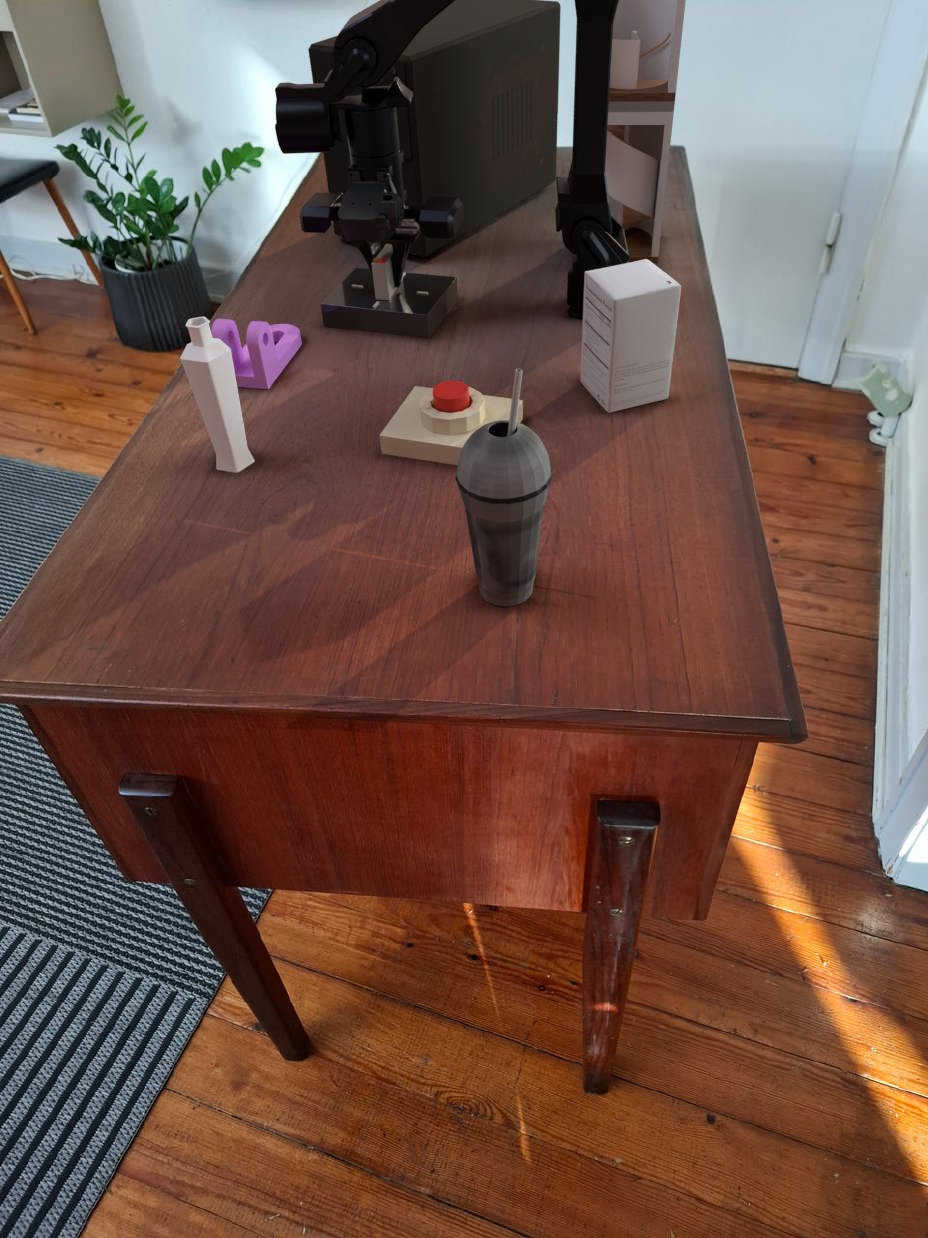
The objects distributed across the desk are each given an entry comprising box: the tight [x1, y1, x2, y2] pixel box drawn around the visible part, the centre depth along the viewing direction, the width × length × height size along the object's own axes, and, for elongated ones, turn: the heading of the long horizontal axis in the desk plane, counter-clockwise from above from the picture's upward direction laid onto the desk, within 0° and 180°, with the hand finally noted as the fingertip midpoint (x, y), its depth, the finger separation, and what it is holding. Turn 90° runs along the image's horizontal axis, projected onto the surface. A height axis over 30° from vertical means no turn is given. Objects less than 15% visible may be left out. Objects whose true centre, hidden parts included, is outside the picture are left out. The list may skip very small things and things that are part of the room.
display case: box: [605, 0, 687, 267], centre depth 111 cm, size 11×11×35 cm
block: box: [379, 385, 524, 466], centre depth 91 cm, size 12×10×4 cm
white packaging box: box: [579, 259, 682, 414], centre depth 93 cm, size 7×7×13 cm
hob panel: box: [320, 267, 459, 339], centre depth 112 cm, size 14×11×3 cm
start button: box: [432, 380, 469, 413], centre depth 89 cm, size 4×4×2 cm
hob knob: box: [372, 244, 403, 300], centre depth 110 cm, size 6×2×5 cm, turn 166°
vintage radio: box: [308, 0, 562, 258], centre depth 129 cm, size 38×20×25 cm, turn 144°
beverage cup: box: [455, 368, 553, 607], centre depth 68 cm, size 7×7×20 cm
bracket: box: [210, 318, 303, 390], centre depth 104 cm, size 13×6×7 cm, turn 167°
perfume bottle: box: [179, 316, 256, 474], centre depth 85 cm, size 5×4×15 cm
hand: (389, 285), depth 111 cm, fingers closed on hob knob, 2 cm apart
